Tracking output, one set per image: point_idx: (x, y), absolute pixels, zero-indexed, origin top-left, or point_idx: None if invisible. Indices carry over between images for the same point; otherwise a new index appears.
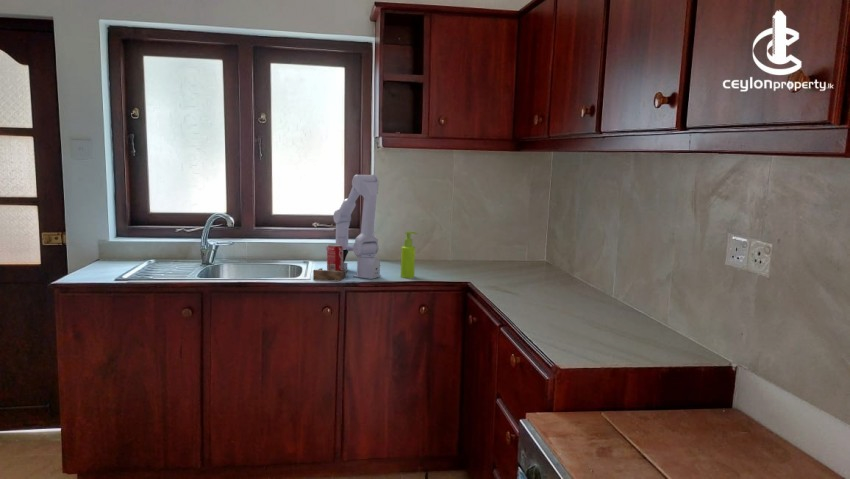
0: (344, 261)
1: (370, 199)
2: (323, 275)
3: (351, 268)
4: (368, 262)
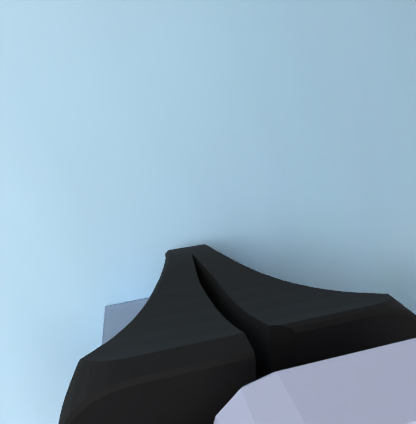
0: (229, 258)
1: None
2: None
3: (282, 176)
4: None
